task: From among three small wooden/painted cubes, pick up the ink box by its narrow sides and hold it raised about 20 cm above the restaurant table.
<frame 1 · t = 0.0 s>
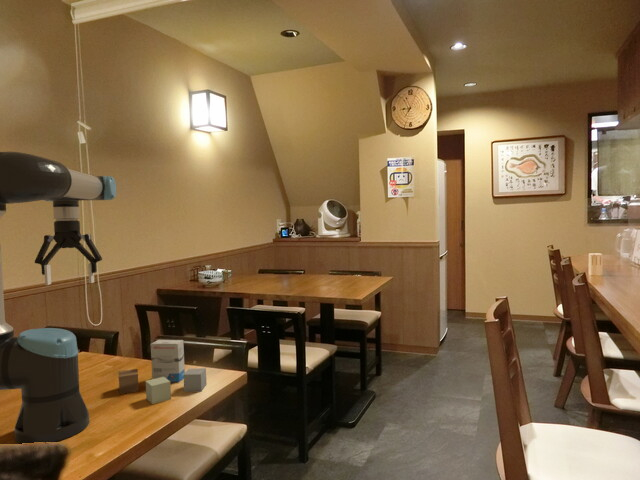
hand: (70, 283, 152), 28 cm above the table, fingers open, 13 cm apart
walnut cube: (129, 389, 131), on the table
sage cube: (158, 399, 124), on the table
ink box: (168, 380, 139), on the table
slate cube: (195, 388, 131), on the table
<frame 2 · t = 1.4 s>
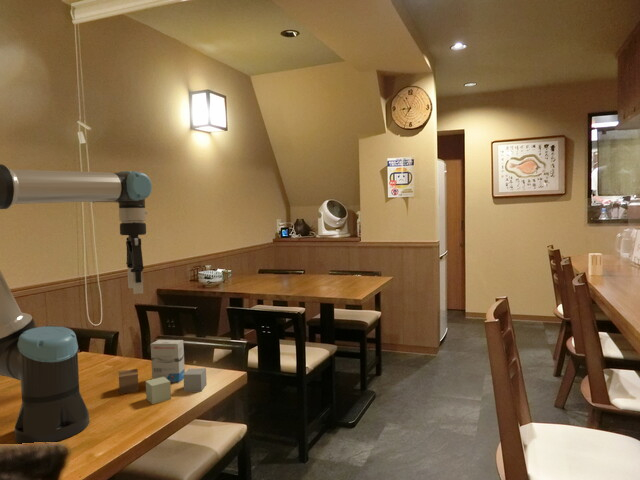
hand: (135, 290, 142), 27 cm above the table, fingers open, 13 cm apart
nothing on the table moved.
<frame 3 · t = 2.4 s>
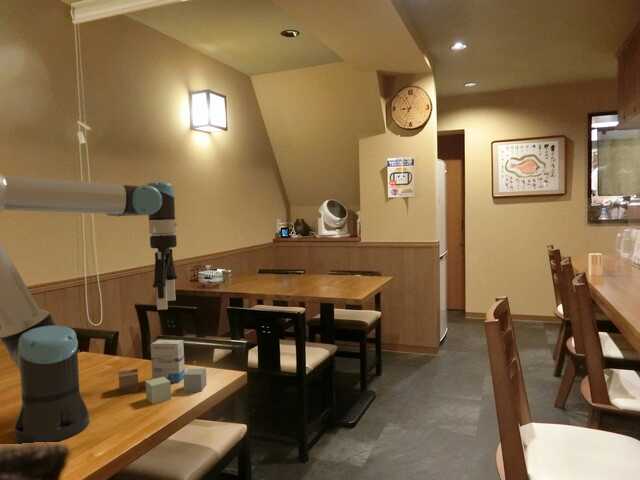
hand: (166, 304, 138), 23 cm above the table, fingers open, 13 cm apart
nothing on the table moved.
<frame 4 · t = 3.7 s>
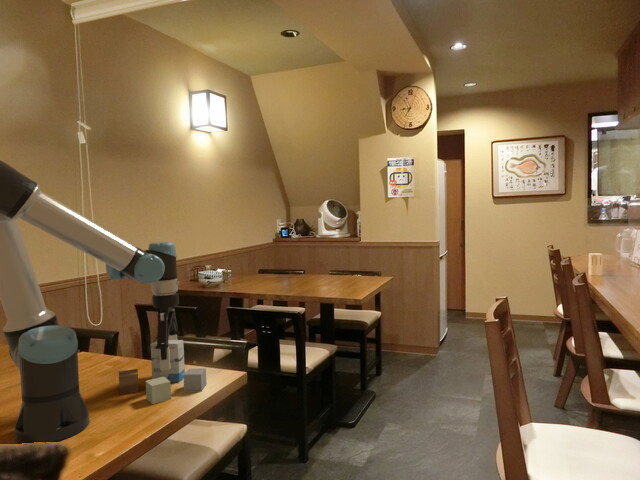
hand: (169, 362, 139), 5 cm above the table, fingers open, 13 cm apart
nothing on the table moved.
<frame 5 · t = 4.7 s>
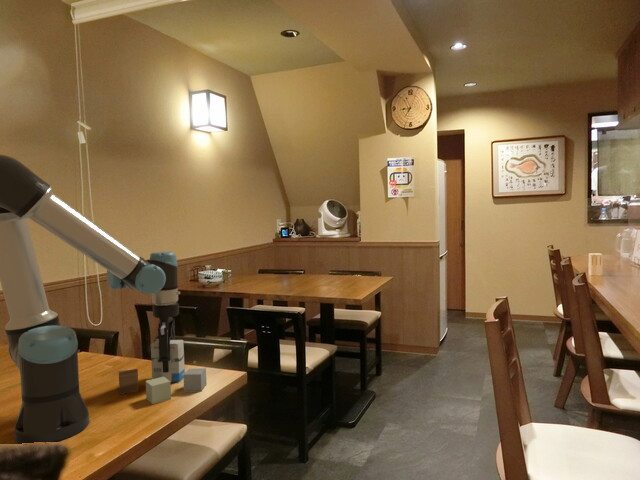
hand: (168, 378, 139), 0 cm above the table, fingers closed on ink box, 6 cm apart
ink box: (168, 380, 139), on the table, touching gripper
everything else where it was.
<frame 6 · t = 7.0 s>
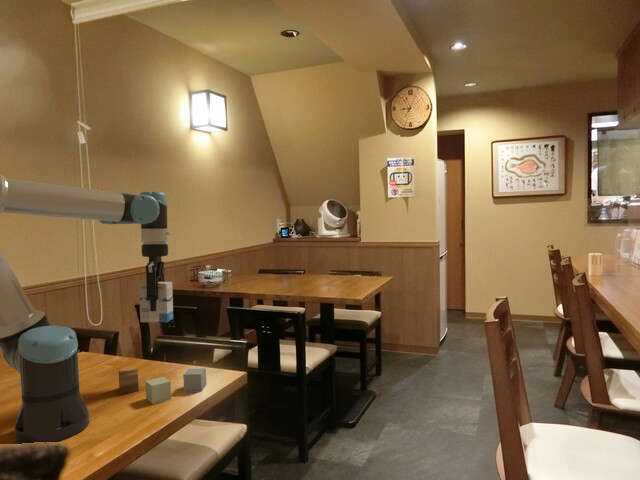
hand: (156, 319, 138), 18 cm above the table, fingers closed on ink box, 6 cm apart
ink box: (157, 321, 139), point 18 cm above the table, touching gripper
everything else where it was.
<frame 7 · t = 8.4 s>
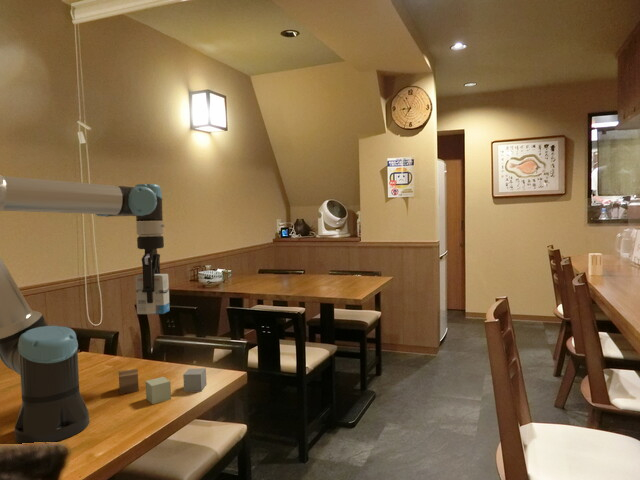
hand: (153, 311, 139), 21 cm above the table, fingers closed on ink box, 6 cm apart
ink box: (153, 313, 139), point 20 cm above the table, touching gripper
everything else where it was.
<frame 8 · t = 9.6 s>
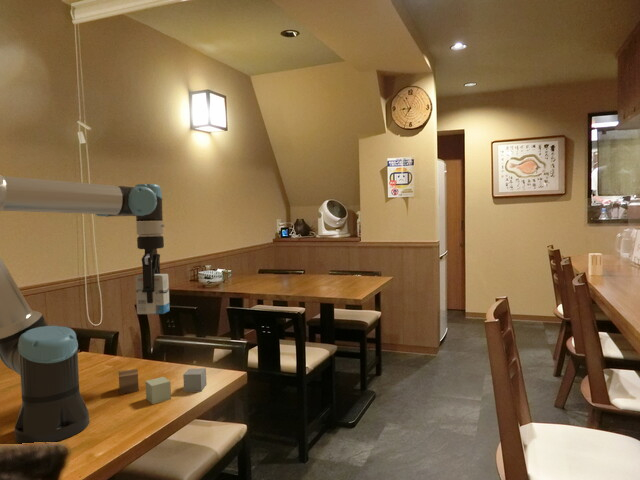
hand: (153, 311, 139), 21 cm above the table, fingers closed on ink box, 6 cm apart
ink box: (153, 313, 139), point 20 cm above the table, touching gripper
everything else where it was.
at the end: the gripper is holding ink box; ink box point 20.2 cm above the table; sage cube moved 0.1 cm from its start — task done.
